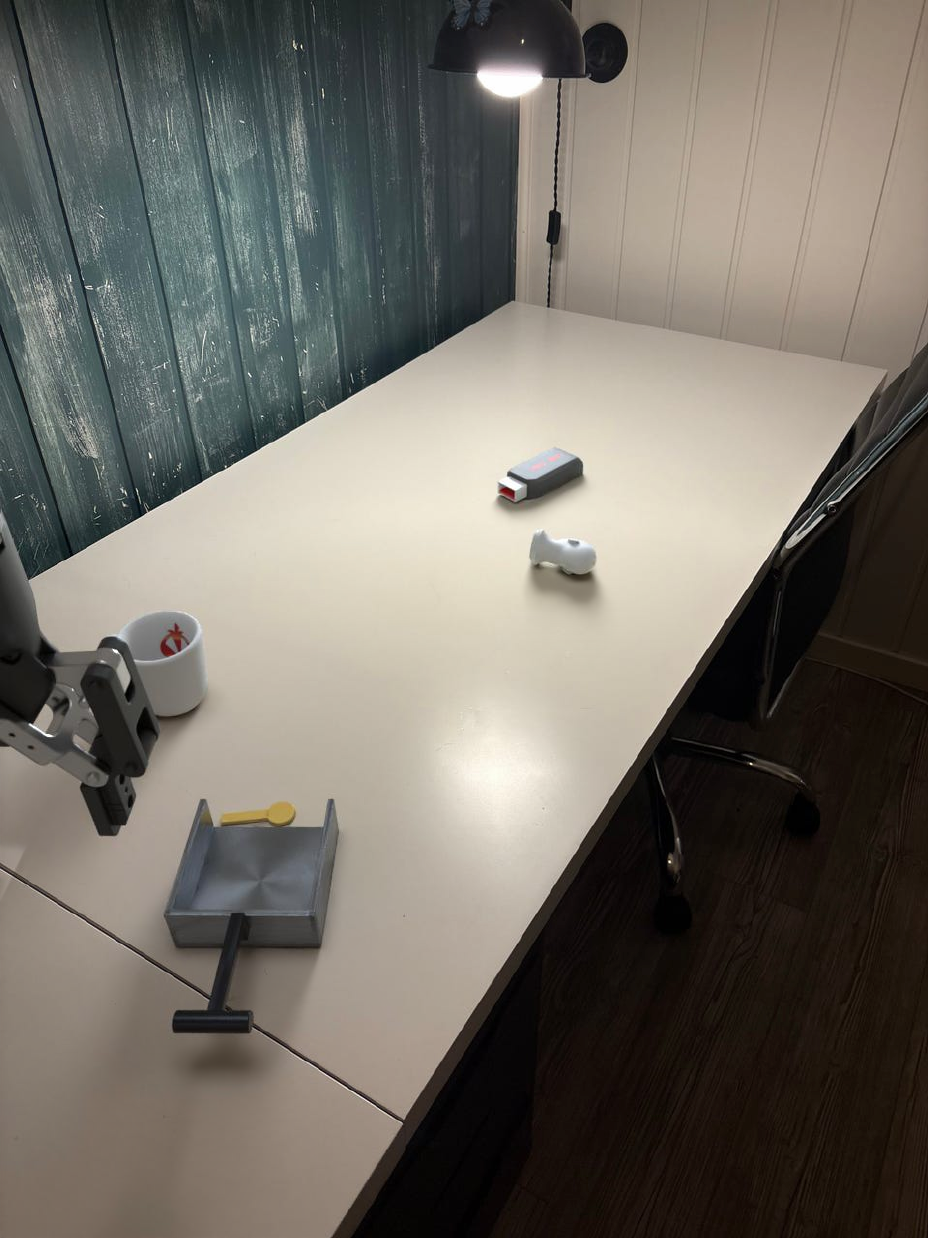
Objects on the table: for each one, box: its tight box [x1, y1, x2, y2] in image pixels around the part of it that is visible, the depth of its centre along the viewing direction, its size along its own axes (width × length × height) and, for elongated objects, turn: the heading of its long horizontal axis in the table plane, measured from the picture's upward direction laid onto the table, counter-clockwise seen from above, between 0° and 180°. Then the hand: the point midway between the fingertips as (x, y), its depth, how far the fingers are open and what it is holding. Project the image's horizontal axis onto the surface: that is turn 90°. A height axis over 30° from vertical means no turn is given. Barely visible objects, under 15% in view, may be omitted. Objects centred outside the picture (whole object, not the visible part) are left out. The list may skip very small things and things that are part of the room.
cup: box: [98, 609, 209, 717], centre depth 88 cm, size 11×8×8 cm
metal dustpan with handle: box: [163, 798, 340, 1035], centre depth 68 cm, size 11×20×5 cm, turn 179°
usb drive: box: [497, 447, 584, 503], centre depth 121 cm, size 5×12×3 cm, turn 133°
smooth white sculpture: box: [528, 528, 597, 575], centre depth 106 cm, size 4×8×5 cm
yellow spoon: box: [220, 801, 296, 827], centre depth 78 cm, size 6×2×1 cm, turn 96°
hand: (26, 821), depth 43 cm, fingers open, 8 cm apart
